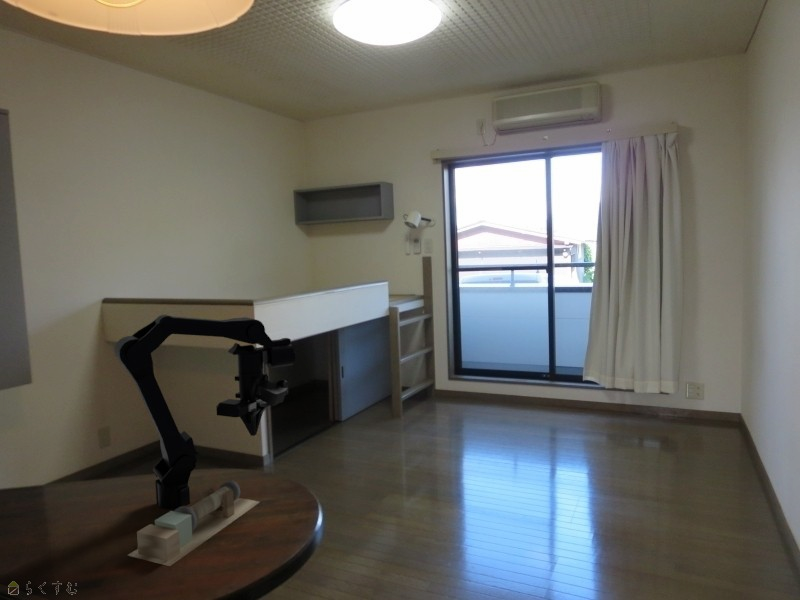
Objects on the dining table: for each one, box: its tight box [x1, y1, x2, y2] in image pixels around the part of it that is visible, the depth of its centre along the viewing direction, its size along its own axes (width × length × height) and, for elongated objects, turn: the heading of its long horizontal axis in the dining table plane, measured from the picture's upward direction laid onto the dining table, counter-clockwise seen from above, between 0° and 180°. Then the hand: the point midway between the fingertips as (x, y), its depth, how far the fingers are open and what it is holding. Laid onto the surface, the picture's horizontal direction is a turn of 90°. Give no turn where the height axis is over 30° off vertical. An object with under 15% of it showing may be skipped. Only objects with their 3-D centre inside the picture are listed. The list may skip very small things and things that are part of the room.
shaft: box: [173, 479, 241, 531], centre depth 110 cm, size 5×15×5 cm, turn 158°
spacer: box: [154, 510, 193, 548], centre depth 102 cm, size 5×4×5 cm
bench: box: [127, 486, 261, 567], centre depth 108 cm, size 10×26×6 cm, turn 158°
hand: (253, 435), depth 129 cm, fingers closed
